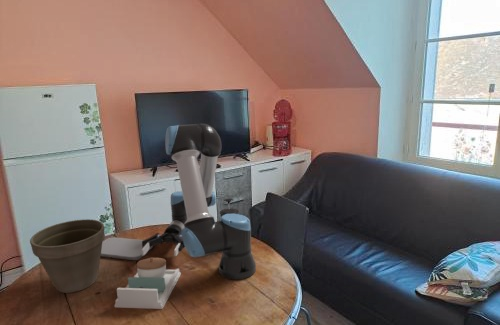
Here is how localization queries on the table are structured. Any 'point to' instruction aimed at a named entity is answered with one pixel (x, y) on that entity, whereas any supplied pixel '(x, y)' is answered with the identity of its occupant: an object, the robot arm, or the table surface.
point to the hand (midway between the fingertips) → (158, 253)
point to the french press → (228, 211)
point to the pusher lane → (147, 294)
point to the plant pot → (70, 253)
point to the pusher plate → (147, 283)
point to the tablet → (122, 248)
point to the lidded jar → (151, 268)
